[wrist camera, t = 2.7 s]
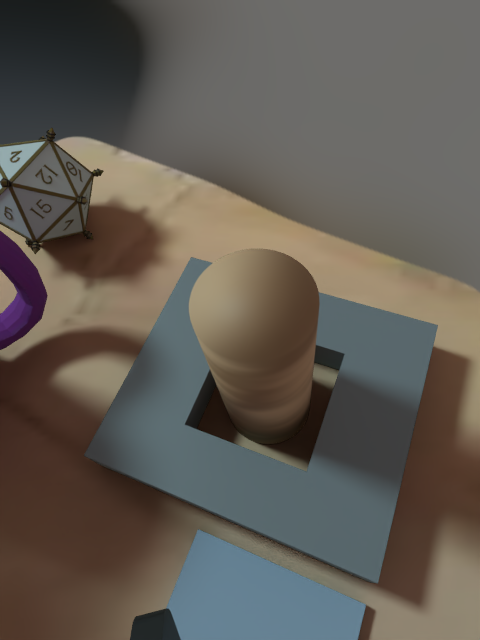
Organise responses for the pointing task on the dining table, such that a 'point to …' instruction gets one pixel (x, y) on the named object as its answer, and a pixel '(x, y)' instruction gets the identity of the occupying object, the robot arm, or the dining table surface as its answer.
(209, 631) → the pad
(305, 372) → the peg
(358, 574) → the board
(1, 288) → the dining table surface
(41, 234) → the game die
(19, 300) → the mug
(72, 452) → the dining table surface
